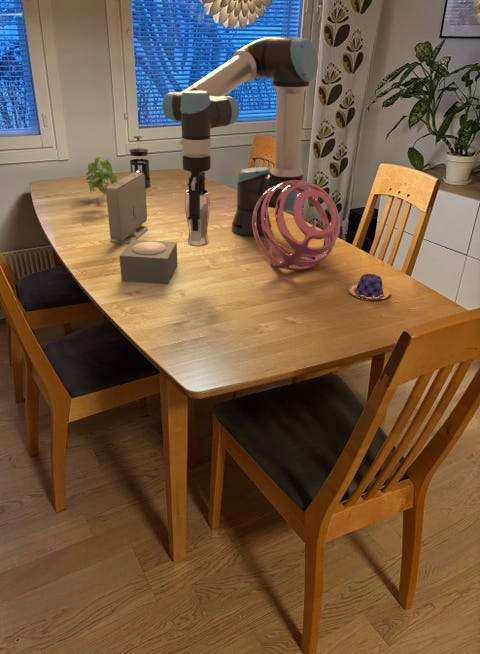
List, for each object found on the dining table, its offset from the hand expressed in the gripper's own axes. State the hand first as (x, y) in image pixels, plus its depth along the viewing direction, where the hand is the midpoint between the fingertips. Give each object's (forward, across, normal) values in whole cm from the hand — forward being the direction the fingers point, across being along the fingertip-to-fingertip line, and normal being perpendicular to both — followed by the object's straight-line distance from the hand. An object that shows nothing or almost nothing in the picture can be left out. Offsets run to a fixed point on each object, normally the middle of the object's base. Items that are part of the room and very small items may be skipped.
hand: (198, 236), depth 149 cm
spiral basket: (+14, -14, +29) cm, 35 cm away
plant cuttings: (+14, -74, -50) cm, 91 cm away
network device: (+14, -36, -31) cm, 49 cm away
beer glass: (+2, 0, 0) cm, 2 cm away
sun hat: (+14, +2, +51) cm, 53 cm away
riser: (+13, -2, -15) cm, 20 cm away
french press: (+15, -106, -45) cm, 117 cm away
